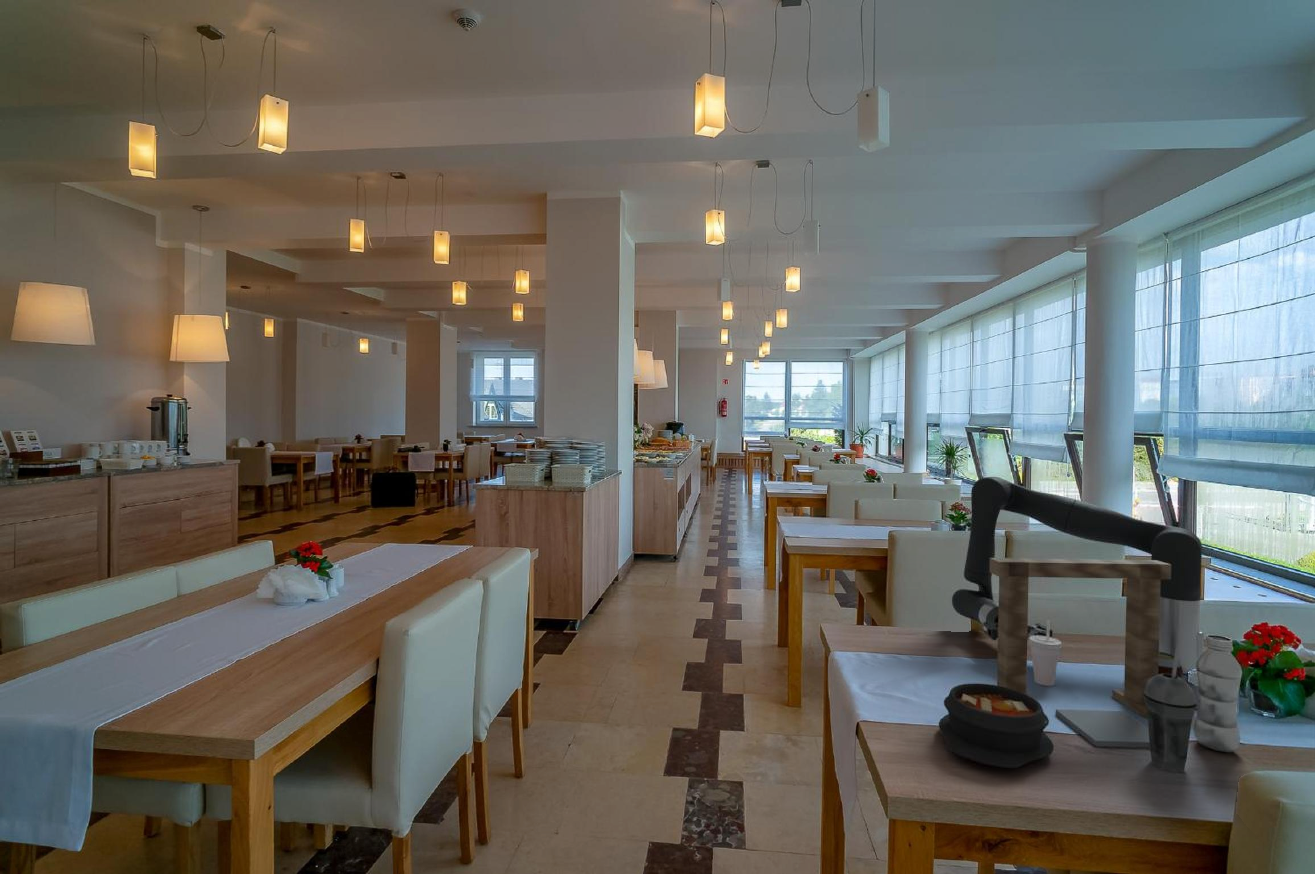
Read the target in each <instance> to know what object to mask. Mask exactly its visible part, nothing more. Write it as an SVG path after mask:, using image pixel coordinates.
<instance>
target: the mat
mask: <svg viewBox="0 0 1315 874" xmlns="http://www.w3.org/2000/svg"><path fill="white" fill-rule="evenodd" d="M1055 715H1056V716H1057V717H1059V718H1060V719H1061V720H1062V721H1063V722H1064V723H1066V724H1067V725H1069V727H1071V728H1072V729H1074V730H1075V731H1076V732H1077V733H1078V734H1079V735H1081V736H1082V737H1083V738H1085V739H1086V740H1087V741H1088V742H1090V743H1091V744H1092V745H1093V746H1094V747H1110V748H1145V749H1147V748H1149V749H1150V743H1149V730H1148V726H1146V725H1145V724H1143V723H1141V722H1140V721H1138V720H1137V719H1135V718H1133V717H1132V716H1131V715H1129V714H1128V713H1126V712H1125V711H1123V710H1095V709H1094V710H1093V709H1062V708H1061V709H1057V708H1056V709H1055Z"/></svg>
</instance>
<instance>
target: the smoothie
mask: <svg viewBox="0 0 1315 874" xmlns="http://www.w3.org/2000/svg"><path fill="white" fill-rule="evenodd" d="M1046 627H1047V635H1046V636H1039V635H1037V636H1031V635H1029V636H1030V637H1029V640H1028V643H1029V644H1030V651H1031V659H1032V667H1033V668H1032V669H1033V675H1034V676H1033V677H1034V678H1033V679H1034V682H1035V683H1036V684H1038V685H1041V686H1045V687H1046V686H1047V687H1051V686H1054V684H1055V680H1056V679H1055V678H1056V672H1057V667H1058V661H1059V656H1060V649H1061V648H1062V641H1061V640H1059V639H1058V638H1055V637H1054V638H1052V637H1053V636H1052V637H1049V629H1051V628H1050V620H1046Z"/></svg>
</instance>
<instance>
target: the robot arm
mask: <svg viewBox="0 0 1315 874" xmlns="http://www.w3.org/2000/svg"><path fill="white" fill-rule="evenodd" d="M970 493H971V496H970V497H971V498H970V499H971V500H970V501H971V502H970V503H971V519H970V520H971V522H970V533H969V538H968V539H969V540H968V546H967V551H966V559H965V564H964V571H963V577H964V579H965V580H966V581H968V582H969V583H972V584H975V585H977V586H978V590H973V589H967V588H960V589H958V590H956V591H955V592H954V593H953V595H952V597H951V604H952V607H953V609H954V610H955V612H956V613H958V614H959V615H960V616H962V617H964V618H968V619H970V620H974V621H976V622H978V624H981V625H982V626H983V633H984V634H985V635H986V636H987V637H989V638H990V639H991V640H992V641H995V640H997V641H998V611H999V602H996V601H994V593H993V589H992V588H993V587H992V577H993V574H992V573H990V558H996V541H995V537H996V536H995V535H996V527H997V522H998V519H999V515H1000V512H1001V511H1004V512H1010V513H1015V514H1019V515H1022V516H1026V517H1029V518H1031V519H1033V520H1035V521H1037V522H1039V523H1040V524H1043V525H1045V526H1047V527H1049V528H1050V529H1053V530H1056V531H1059V532H1060V533H1061V532H1062V533H1064V534H1067V535H1071V536H1073V537H1076V538H1081V539H1084V540H1088V541H1093V542H1099V543H1105V544H1112V545H1120V546H1125V547H1128V548H1132V549H1135V550H1138V551H1141V552H1143V553H1146V554H1149V555H1151V559H1150V560H1158V561H1161V562H1164V563H1168V564H1171V579H1161V583H1160V622H1159V637H1160V640H1159V652H1164V653H1168V654H1171V655H1174V656H1175V649H1178V650H1179V656H1178V660H1179V661H1180V663H1181V665H1182V670H1183V675H1188V674H1187V673H1188V672H1189V671H1192V670H1193V669H1196V661H1197V659H1198V657H1199V656H1200V655H1201V654H1202V653H1203V652H1204V642H1205V635H1204V632H1202V631H1201V600H1202V599H1201V597H1202V560H1203V559H1202V555H1203V554H1202V553H1203V544H1202V541H1201V540H1200V538H1199V537H1198V536H1197V535H1196V534H1194V532H1192V531H1190V530H1189V529H1185V528H1183V527H1178V526H1171V525H1168V524H1166V525H1165V524H1162V523H1161V524H1160V523H1155V522H1151V521H1146V520H1143V519H1142V520H1141V519H1138V518H1136V517H1135V518H1134V517H1132V516H1128V515H1126V514H1124V513H1120V512H1118V511H1115V510H1112V509H1109V508H1105V507H1102V506H1100V505H1097V504H1093V503H1090V502H1086V501H1083V500H1080V499H1076V498H1071V497H1066V496H1063V495H1058V494H1053V493H1048V492H1043V491H1037V490H1034V489H1031V488H1027V487H1025V486H1022V485H1019V484H1016V483H1014V482H1012V481H1009V480H1007V479H1004V478H1001V477H998V476H986V477H982V478H979V479H978V480H977V481H976V482H975V483H974V484H973V486H972V487H971V492H970ZM1053 632H1054V630H1053V629H1052V628H1050V629H1049V637H1052V638H1055V637H1053ZM1030 634H1031V635H1030ZM1037 635H1038V636H1046V635H1047V626H1045V625H1043V624H1041V623H1039V622H1037V623H1035V625H1032V624H1029V623H1028V632H1027V641H1029V637H1030V636H1037Z"/></svg>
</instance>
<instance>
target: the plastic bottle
mask: <svg viewBox="0 0 1315 874" xmlns="http://www.w3.org/2000/svg"><path fill="white" fill-rule="evenodd" d="M1205 636H1206V637H1205V647H1206V649H1205V650H1203V653H1202V654H1201V655H1200V656H1199V657H1198V659H1197V661H1196V670H1197V674H1196V676H1197V684H1198V685H1197V686H1198V687H1197V688H1198V702H1197V703H1198V704H1197V709H1196V710H1197V711H1196V716H1195V719H1194V723H1193V728H1192V729H1193V734H1194V738H1195V739H1196V741H1197V742H1198V743H1199V744H1200V745H1201V746H1204V747H1206V748H1208V749H1210V750H1213V751H1218V752H1225V753H1232V752H1235V751H1236V750H1237V749H1238V748H1239V746H1240V743H1241V733H1240V729H1239V726H1238V725H1239V724H1238V722H1239V721H1238V712H1237V706H1238V698H1239V697H1238V696H1239V690H1240V687H1241V686H1240V685H1241V681H1242V677H1243V670H1242V666H1241V665H1240V663H1239V662H1238V660H1237V659H1236V657H1235V656H1234V655H1233V654H1232V652H1233V651H1234V647H1233V639H1232V638H1230V637H1227V636H1223V635H1218V634H1206V635H1205Z"/></svg>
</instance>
